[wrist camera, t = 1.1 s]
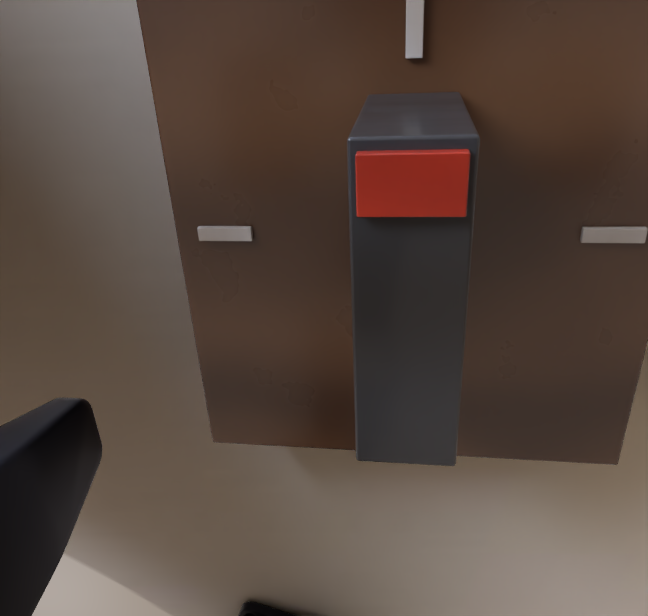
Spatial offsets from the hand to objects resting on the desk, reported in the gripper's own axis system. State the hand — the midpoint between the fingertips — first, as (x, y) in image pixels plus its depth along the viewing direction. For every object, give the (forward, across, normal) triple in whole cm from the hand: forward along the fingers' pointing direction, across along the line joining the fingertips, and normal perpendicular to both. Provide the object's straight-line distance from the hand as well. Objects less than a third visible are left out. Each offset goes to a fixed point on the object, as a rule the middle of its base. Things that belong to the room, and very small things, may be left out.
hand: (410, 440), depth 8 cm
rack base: (+10, 0, 0) cm, 11 cm away
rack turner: (+7, 0, 0) cm, 7 cm away
